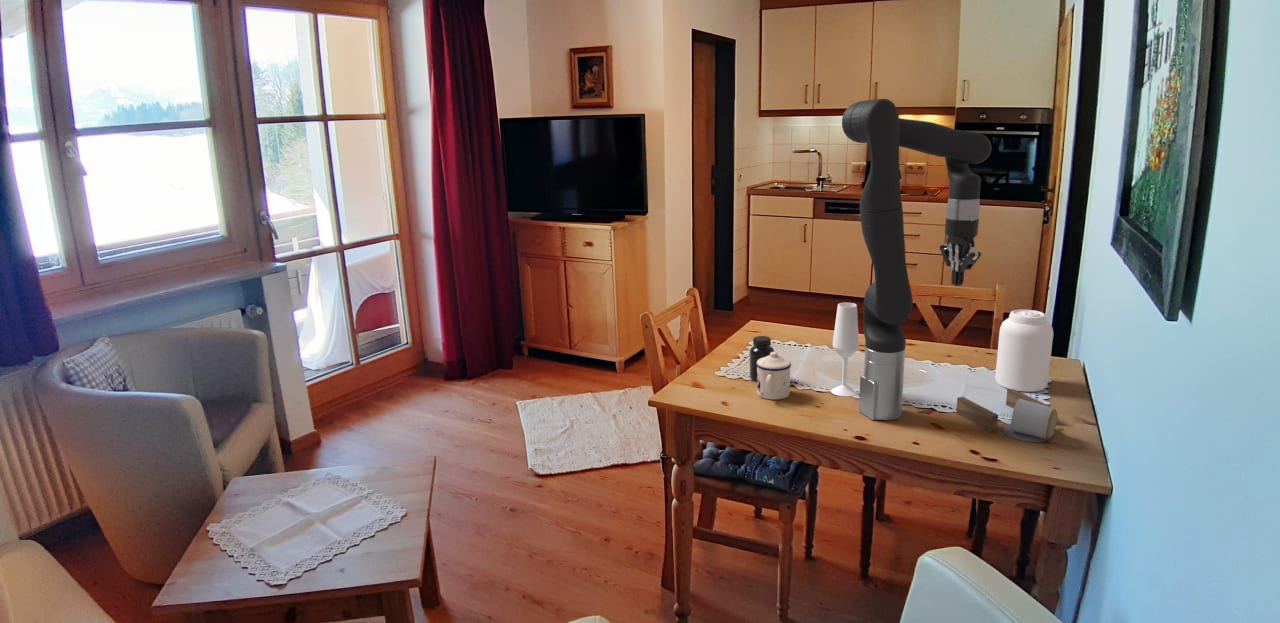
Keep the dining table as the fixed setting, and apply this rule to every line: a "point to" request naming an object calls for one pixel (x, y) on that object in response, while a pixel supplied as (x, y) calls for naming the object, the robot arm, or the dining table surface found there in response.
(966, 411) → the holder
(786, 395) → the teacup with lid
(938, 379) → the dining table surface
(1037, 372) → the white lidded jar
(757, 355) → the supplement bottle
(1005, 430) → the dark mat
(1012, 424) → the grey cylinder
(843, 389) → the champagne flute
